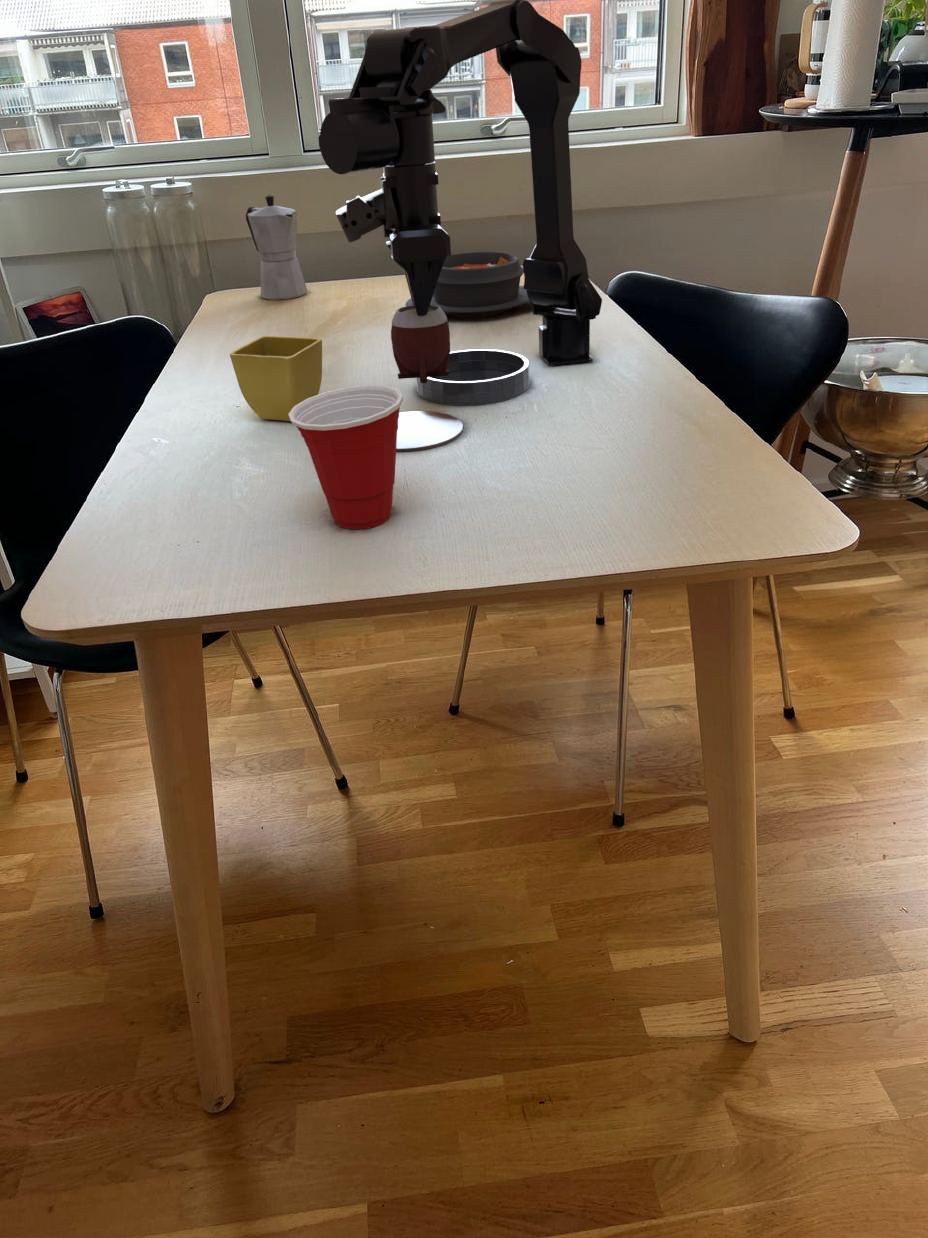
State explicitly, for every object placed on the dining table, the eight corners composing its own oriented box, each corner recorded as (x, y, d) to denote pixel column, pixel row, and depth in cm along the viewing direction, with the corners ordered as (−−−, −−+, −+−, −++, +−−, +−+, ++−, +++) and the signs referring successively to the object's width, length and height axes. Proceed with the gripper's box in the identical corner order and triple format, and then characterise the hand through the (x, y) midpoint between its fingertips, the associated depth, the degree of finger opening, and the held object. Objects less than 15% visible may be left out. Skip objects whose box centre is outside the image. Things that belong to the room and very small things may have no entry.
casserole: (531, 291, 173) (530, 244, 169) (560, 314, 158) (560, 262, 153) (398, 305, 170) (394, 257, 165) (415, 330, 154) (411, 277, 150)
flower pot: (332, 405, 123) (323, 337, 119) (302, 428, 116) (291, 356, 112) (274, 402, 126) (262, 335, 121) (240, 424, 119) (227, 353, 114)
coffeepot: (323, 293, 182) (310, 193, 173) (283, 303, 177) (268, 200, 168) (278, 284, 192) (263, 189, 183) (239, 293, 187) (222, 196, 177)
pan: (517, 366, 134) (517, 345, 132) (539, 398, 121) (539, 375, 119) (412, 376, 132) (410, 355, 131) (423, 410, 120) (421, 387, 118)
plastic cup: (308, 500, 97) (291, 387, 91) (412, 491, 98) (401, 378, 92) (302, 546, 88) (281, 424, 82) (416, 536, 88) (404, 414, 82)
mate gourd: (395, 370, 117) (384, 243, 109) (458, 366, 117) (451, 238, 110) (394, 387, 110) (381, 252, 103) (460, 382, 110) (452, 247, 103)
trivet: (455, 409, 119) (455, 406, 119) (470, 445, 108) (470, 442, 108) (354, 419, 118) (353, 416, 118) (358, 456, 107) (357, 453, 107)
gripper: (333, 161, 109) (349, 298, 117) (336, 177, 93) (354, 335, 101) (428, 154, 110) (437, 291, 118) (447, 169, 94) (455, 326, 102)
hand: (419, 310), depth 110 cm, fingers closed on mate gourd, 5 cm apart
